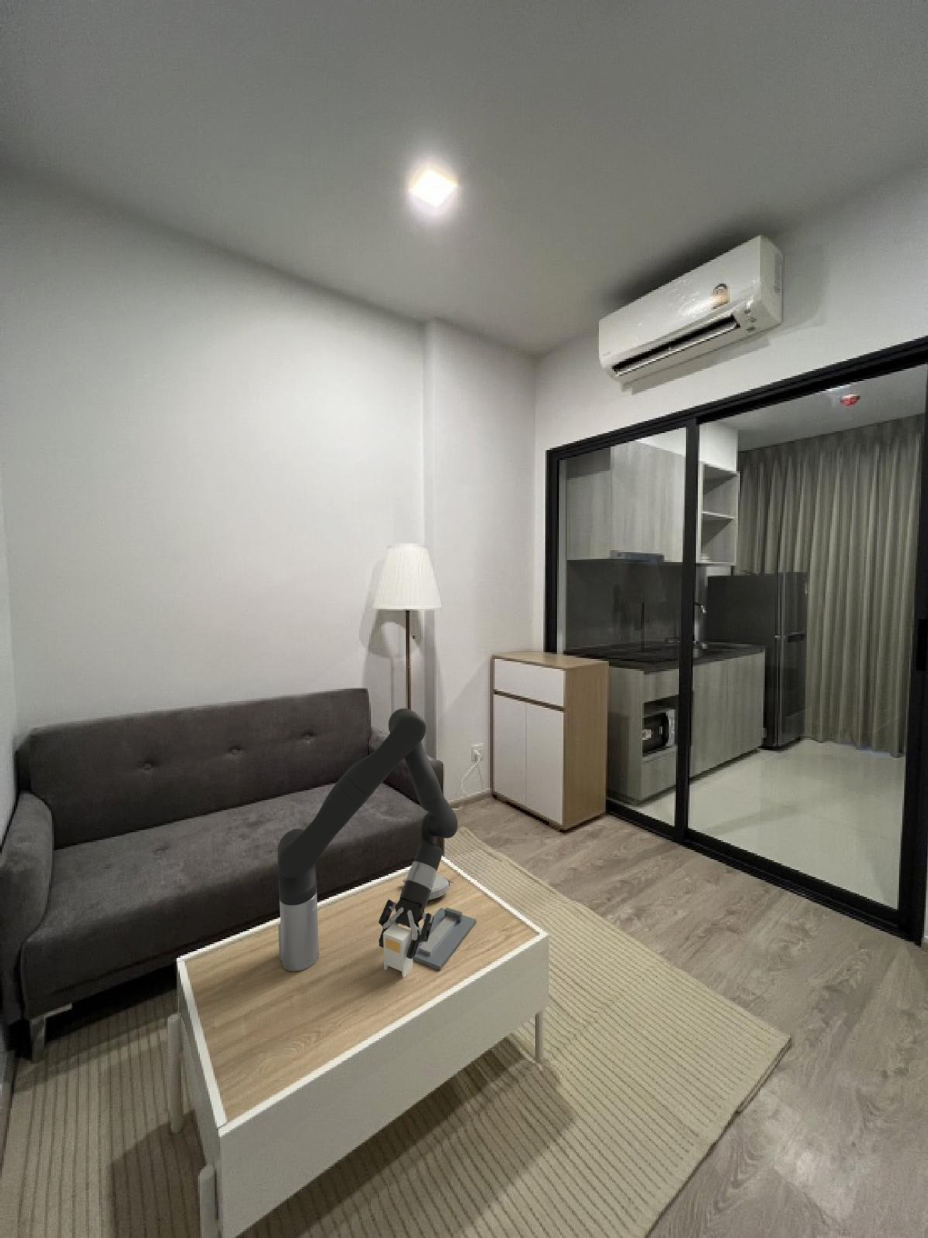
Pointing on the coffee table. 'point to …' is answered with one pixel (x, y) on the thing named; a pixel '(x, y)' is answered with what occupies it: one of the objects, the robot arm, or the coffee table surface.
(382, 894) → the coffee table surface
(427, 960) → the rail board
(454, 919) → the rail
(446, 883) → the robot toy
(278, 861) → the robot arm
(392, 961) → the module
